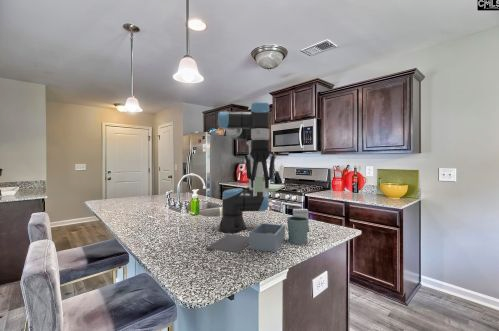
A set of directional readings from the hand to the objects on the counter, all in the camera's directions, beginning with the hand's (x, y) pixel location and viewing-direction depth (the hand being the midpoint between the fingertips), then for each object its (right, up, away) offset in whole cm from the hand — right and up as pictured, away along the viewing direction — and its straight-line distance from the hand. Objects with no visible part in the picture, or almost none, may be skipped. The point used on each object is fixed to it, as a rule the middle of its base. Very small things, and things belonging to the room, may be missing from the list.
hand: (259, 195), depth 104 cm
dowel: (+6, -24, +15) cm, 29 cm away
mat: (-12, -25, +14) cm, 31 cm away
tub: (+4, -25, +12) cm, 28 cm away
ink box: (+25, -25, +39) cm, 53 cm away
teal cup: (+19, -25, +16) cm, 35 cm away
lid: (+3, +1, +9) cm, 10 cm away
